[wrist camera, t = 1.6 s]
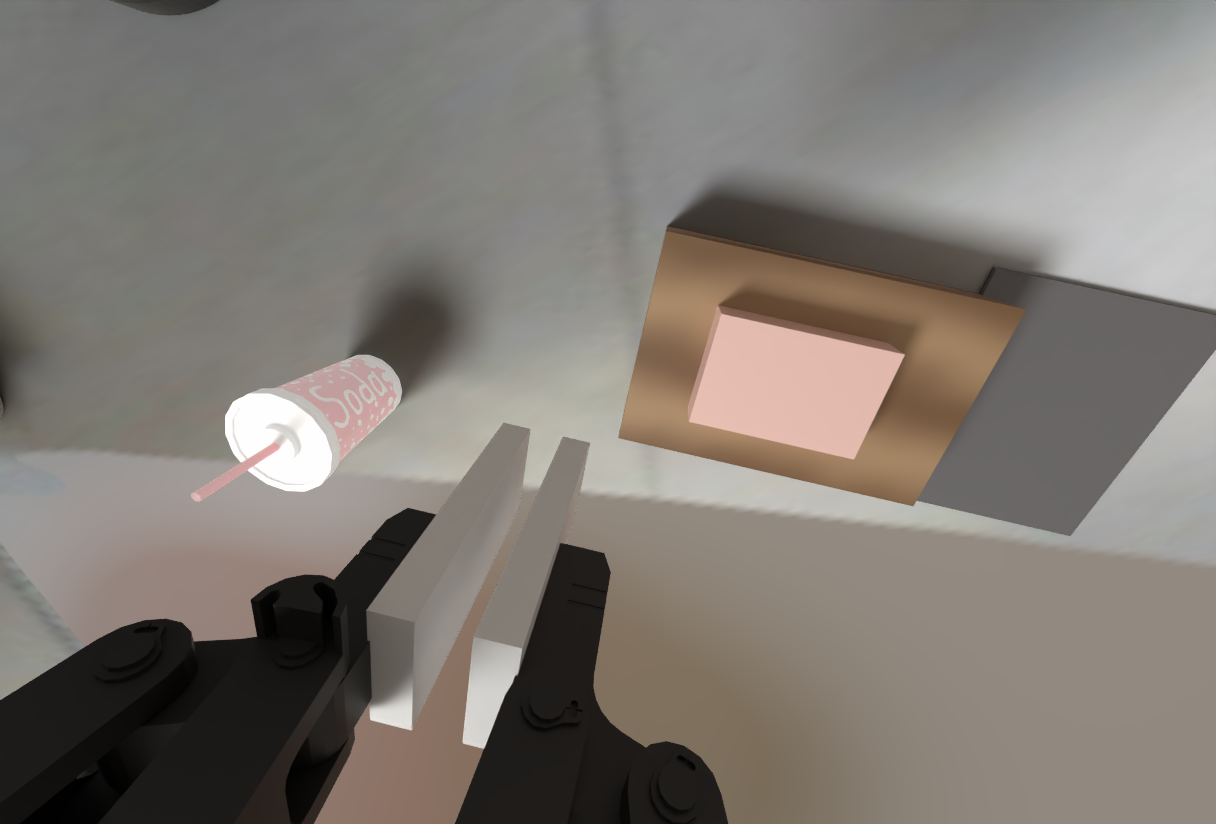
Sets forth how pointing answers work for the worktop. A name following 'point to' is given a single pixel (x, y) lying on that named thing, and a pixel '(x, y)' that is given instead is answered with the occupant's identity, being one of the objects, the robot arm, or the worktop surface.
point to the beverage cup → (307, 424)
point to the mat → (1067, 401)
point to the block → (791, 382)
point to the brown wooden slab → (830, 299)
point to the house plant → (1, 408)
